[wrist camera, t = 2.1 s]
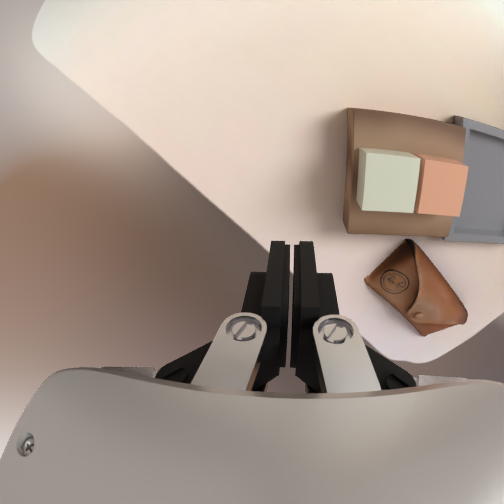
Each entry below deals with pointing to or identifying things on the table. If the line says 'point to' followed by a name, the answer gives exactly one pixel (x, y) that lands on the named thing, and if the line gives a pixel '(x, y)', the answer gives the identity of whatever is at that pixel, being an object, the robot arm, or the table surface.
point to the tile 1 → (440, 186)
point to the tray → (481, 185)
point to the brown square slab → (405, 140)
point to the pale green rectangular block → (387, 180)
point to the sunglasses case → (417, 290)
